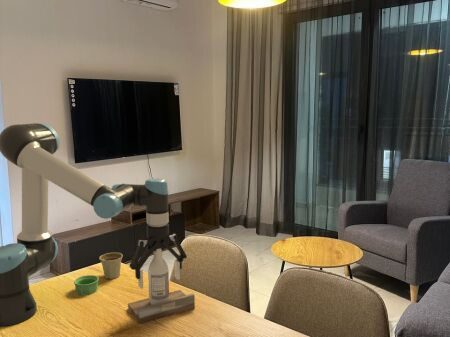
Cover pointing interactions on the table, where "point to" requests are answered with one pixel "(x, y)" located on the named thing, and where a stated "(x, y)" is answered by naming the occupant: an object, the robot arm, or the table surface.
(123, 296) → the table surface
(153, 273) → the bath foam
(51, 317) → the table surface
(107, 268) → the flower pot
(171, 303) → the brown piece
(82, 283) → the ramekin
